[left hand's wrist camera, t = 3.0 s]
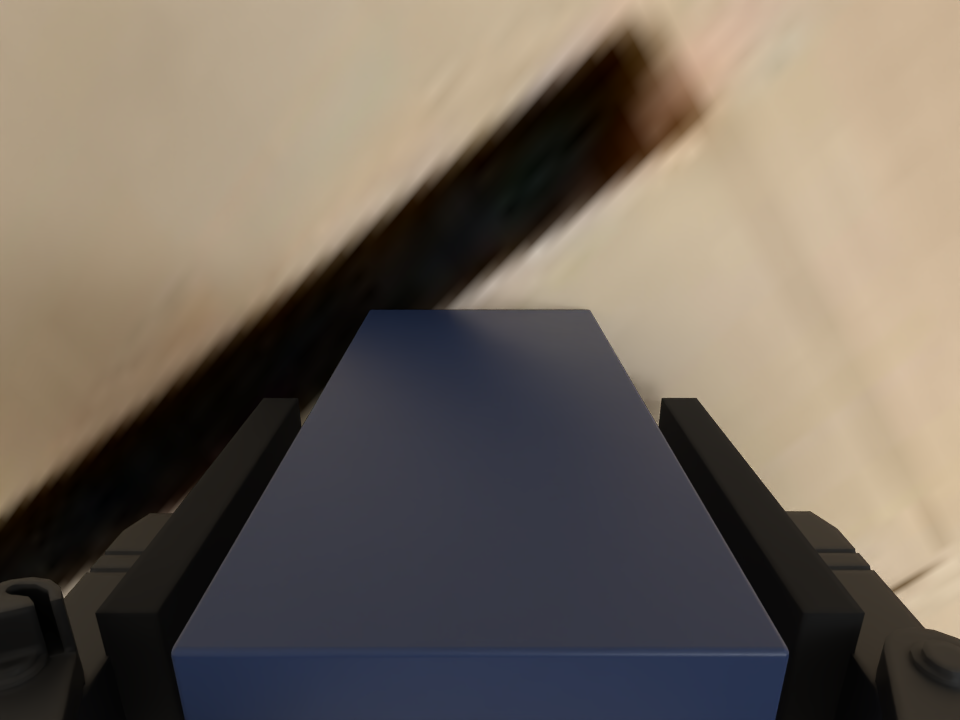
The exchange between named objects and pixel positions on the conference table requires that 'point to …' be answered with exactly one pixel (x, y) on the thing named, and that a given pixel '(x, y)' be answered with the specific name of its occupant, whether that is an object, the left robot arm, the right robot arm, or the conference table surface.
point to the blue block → (480, 547)
